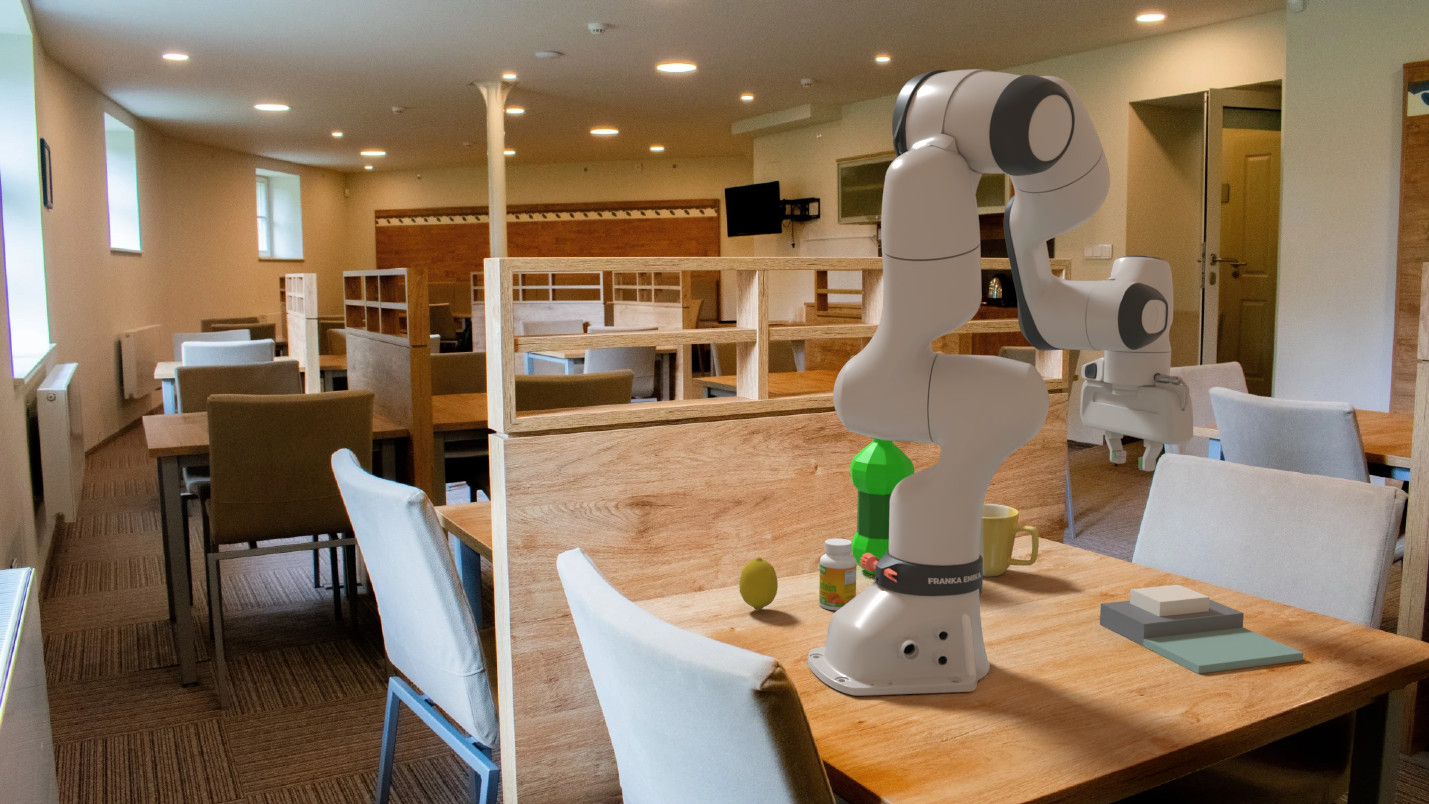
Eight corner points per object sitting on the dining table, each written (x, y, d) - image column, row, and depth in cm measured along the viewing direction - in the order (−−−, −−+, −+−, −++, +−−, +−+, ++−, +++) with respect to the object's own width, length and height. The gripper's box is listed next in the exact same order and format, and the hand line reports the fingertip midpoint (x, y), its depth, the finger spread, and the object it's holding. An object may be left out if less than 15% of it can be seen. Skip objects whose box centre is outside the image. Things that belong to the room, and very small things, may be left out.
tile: (1159, 616, 139) (1160, 602, 139) (1129, 603, 145) (1130, 589, 145) (1208, 611, 142) (1209, 597, 141) (1177, 598, 147) (1178, 584, 147)
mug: (940, 570, 172) (942, 508, 170) (977, 560, 178) (979, 500, 177) (1011, 589, 161) (1013, 524, 160) (1048, 578, 168) (1050, 514, 167)
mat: (1198, 673, 127) (1198, 665, 127) (1143, 646, 137) (1143, 638, 137) (1302, 660, 132) (1303, 652, 132) (1242, 634, 141) (1242, 627, 141)
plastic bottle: (905, 562, 177) (908, 417, 174) (915, 580, 166) (919, 426, 163) (846, 562, 177) (848, 416, 174) (852, 579, 167) (855, 425, 164)
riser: (1143, 646, 137) (1144, 624, 136) (1099, 624, 145) (1100, 603, 145) (1242, 634, 141) (1243, 613, 141) (1194, 614, 150) (1195, 593, 149)
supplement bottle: (811, 605, 154) (812, 541, 153) (835, 597, 157) (836, 535, 156) (838, 614, 150) (839, 548, 149) (863, 606, 153) (864, 542, 152)
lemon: (755, 619, 147) (755, 564, 146) (731, 609, 152) (731, 556, 151) (785, 612, 150) (785, 558, 150) (761, 602, 155) (761, 550, 154)
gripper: (1208, 377, 139) (1202, 478, 141) (1109, 364, 159) (1105, 454, 160) (1168, 378, 137) (1163, 481, 139) (1074, 365, 157) (1070, 456, 158)
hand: (1131, 466), depth 150 cm, fingers open, 5 cm apart
